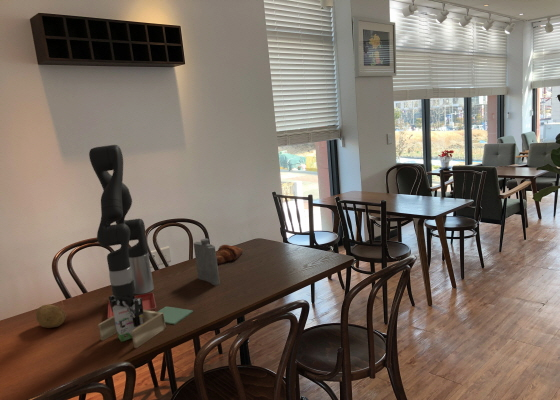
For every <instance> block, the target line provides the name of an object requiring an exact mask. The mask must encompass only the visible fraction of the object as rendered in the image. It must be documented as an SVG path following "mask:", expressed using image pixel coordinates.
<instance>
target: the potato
mask: <svg viewBox="0 0 560 400" xmlns="http://www.w3.org/2000/svg"><path fill="white" fill-rule="evenodd" d="M35 317H36V321H37V323H38V324H39V326H41V327H43V328H46V329H51V328H57V327H60V326H61V325H62V324H63V323H64V322H65V320H66V318H67V317H66V313H65V311H64V309H63V308H61V307H60V306H57V305H54V304H49V303H48V304H44V305H41V306H39V308H38V309H37V310H36V314H35Z"/></svg>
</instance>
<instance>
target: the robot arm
mask: <svg viewBox="0 0 560 400" xmlns="http://www.w3.org/2000/svg"><path fill="white" fill-rule="evenodd" d="M88 156H89V161H90V164H91V167H92V169H93V171H94V173H95V175H96V177H97V179H98V181H99V183H100V185H101V187H102V190H103V191H102V194H101V197H100V208H101V209H100V212H101V213H100V214H101V215H100V216H101V217H100V222H99V226H98V229H97V233H96V239H97V243H98V244H99V245H100V246H102V247H105V248H106V247H112V246H117V245H118V246H120V247H119V248H118V249H116V250H113V251H110V252H109V253H108V254H107V255H106V261H107V267H108V273H109V274H108V275H109V276H108V277H109V281H110V282H109V283H110V287H111V288H110V289H111V293H112V295H110V296H108V300H109V301H108V302H110V305H111V309H112V312H113V307H114V305H115V306H124V307H126V308H127V310H128V312H130V313H131V315H132V316H133V317H132V318H133V324H134V327H137V326H139V325H140V318H139V315H141V314H143V304H142V298H139V299H137V298H135V296H136V295H143V294H148V293H151V292H152V291H153V290H154V289H155V287H154V281H153V274H152V269H151V268H152V267H151V263H150V262H151V261H150V255H149V250H148V244H147V237H146V236H147V235H146V228H145V227H146V225H145V222H144V220H143V219H142V218H135V219H134V218H133V219H127V220H126V219H125V218H126V216H127V214H128V212H129V211H130V210H131V207H132V204H133V198H132V195H131V193H130V189H129V188H128V186H127V185H126V184H125V183H123V178H124V177H123V176H124V156H123V152H122V149H121V147H120V146H119V145H117V144H111V145H109V144H108V145H103V146H96V147H93V148H91V149H90V150H89V153H88ZM109 171H112V174H110V173H109ZM114 223H115V224H114ZM131 241H138V242H136V244H134V245H132V246H131V247H129V245H130V242H131ZM133 305H135V307H134V308H132V309H131V308H130V307H131V306H133ZM139 309H140V311H139ZM133 310H135V312H136V313H134V311H133Z"/></svg>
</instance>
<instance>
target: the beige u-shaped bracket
mask: <svg viewBox="0 0 560 400" xmlns="http://www.w3.org/2000/svg"><path fill="white" fill-rule="evenodd" d="M142 319H143V324H142V325H140V326H139V327H137V328H135V329H134V330H132V331H131V332H132V338H131V339H132V343H133V347H134V348H135V349H137V348H139V347H140V346H142V345H144V344H145V343H146V342H148V341H149V340H151V339H153V338H154V337H155V336H156V335H158V334H160V333H162V332H163V331H165V330H166V329H167V326H166V323H165V320H164V313H161V312H158V311H148V310H143V314H142ZM97 327H98V331H99V337H100V340H101V341H106V340H107V339H108V338H110V337H112V336H114V335H115V334H117V329H116V324H115V318H114V316H112V317H111V318H109V319H108V318H107V319H105V320H104V321H101V322H100V323H98V324H97Z"/></svg>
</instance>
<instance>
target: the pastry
mask: <svg viewBox="0 0 560 400" xmlns="http://www.w3.org/2000/svg"><path fill="white" fill-rule="evenodd" d="M242 254H243V249H242V248H241V247H238V246H236V245H229V244H221V245H220V246H219V248H218V249H217V251H216V258H217V265H221V264H225V263H229V262H232V261H236V260H237V259H239V258H240V256H242Z"/></svg>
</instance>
